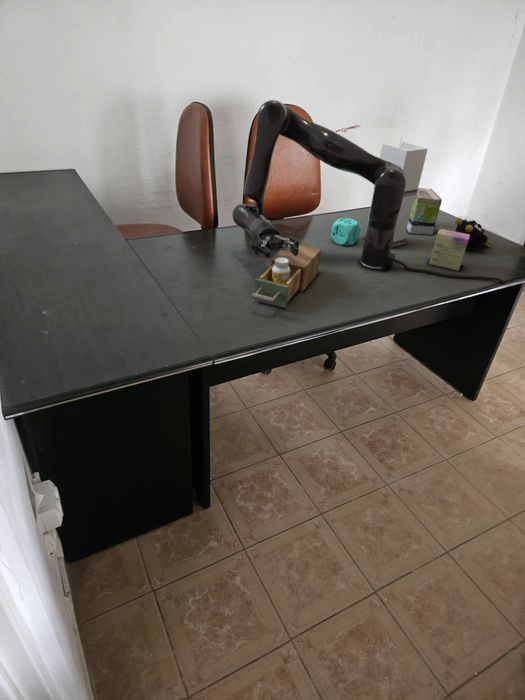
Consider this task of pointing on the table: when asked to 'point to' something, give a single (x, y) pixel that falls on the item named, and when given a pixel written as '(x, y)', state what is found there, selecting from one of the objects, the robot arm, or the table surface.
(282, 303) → the drawer
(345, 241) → the decorative dice
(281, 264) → the supplement bottle
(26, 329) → the table surface
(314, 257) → the cabinet
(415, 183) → the tall white carton
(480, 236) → the black yellow plush toy
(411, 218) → the tea box
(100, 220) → the table surface
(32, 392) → the table surface
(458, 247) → the box
